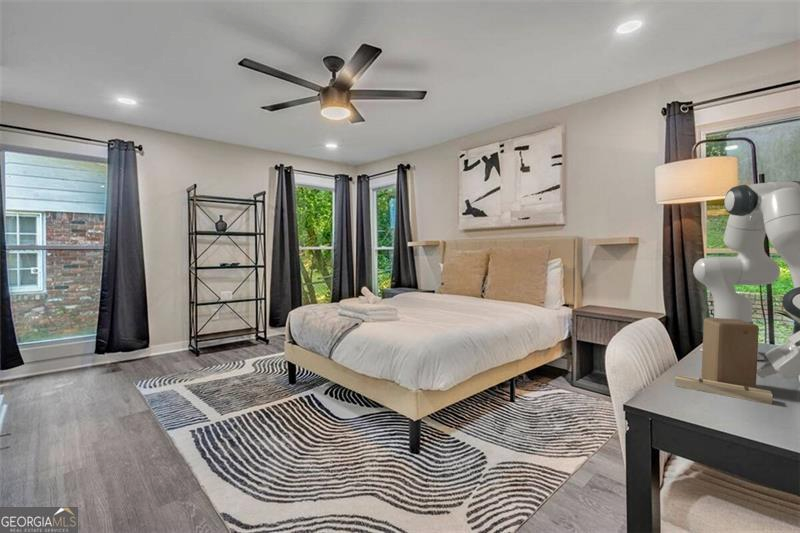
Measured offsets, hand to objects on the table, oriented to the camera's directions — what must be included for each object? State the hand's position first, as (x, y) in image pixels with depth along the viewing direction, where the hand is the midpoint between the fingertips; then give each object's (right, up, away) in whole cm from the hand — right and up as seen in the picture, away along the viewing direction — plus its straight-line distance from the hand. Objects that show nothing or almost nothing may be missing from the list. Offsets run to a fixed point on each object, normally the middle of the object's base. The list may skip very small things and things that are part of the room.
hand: (758, 374), depth 108 cm
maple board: (-12, -5, -1) cm, 13 cm away
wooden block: (-5, -5, +5) cm, 8 cm away
